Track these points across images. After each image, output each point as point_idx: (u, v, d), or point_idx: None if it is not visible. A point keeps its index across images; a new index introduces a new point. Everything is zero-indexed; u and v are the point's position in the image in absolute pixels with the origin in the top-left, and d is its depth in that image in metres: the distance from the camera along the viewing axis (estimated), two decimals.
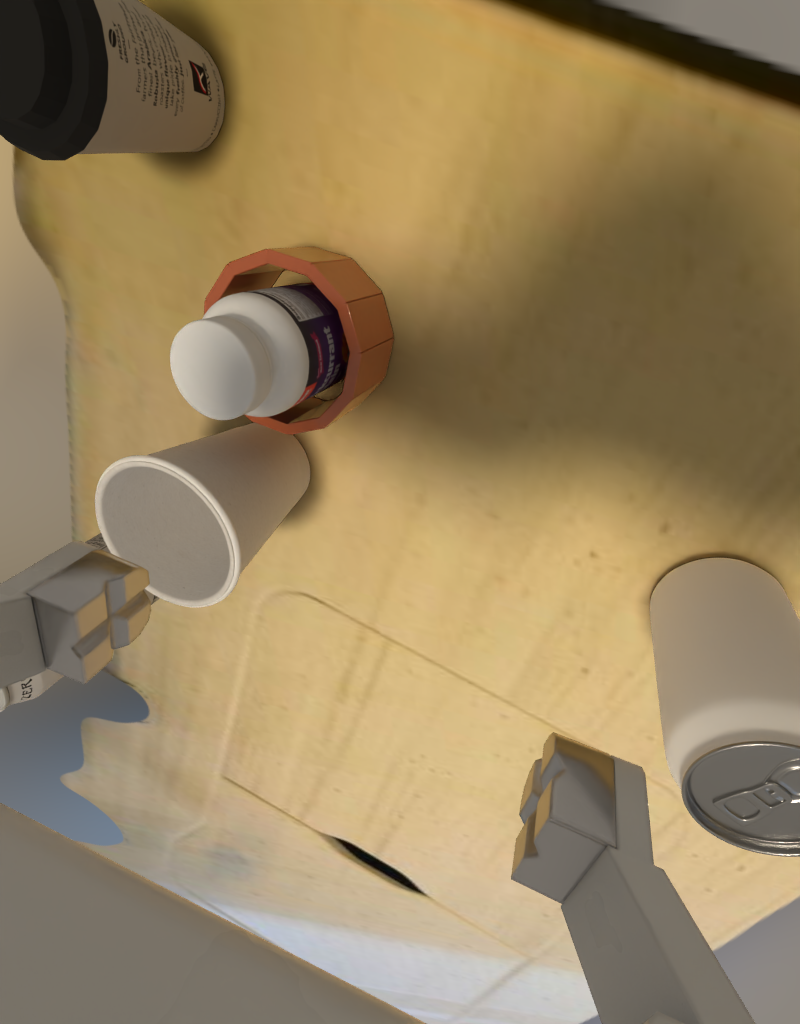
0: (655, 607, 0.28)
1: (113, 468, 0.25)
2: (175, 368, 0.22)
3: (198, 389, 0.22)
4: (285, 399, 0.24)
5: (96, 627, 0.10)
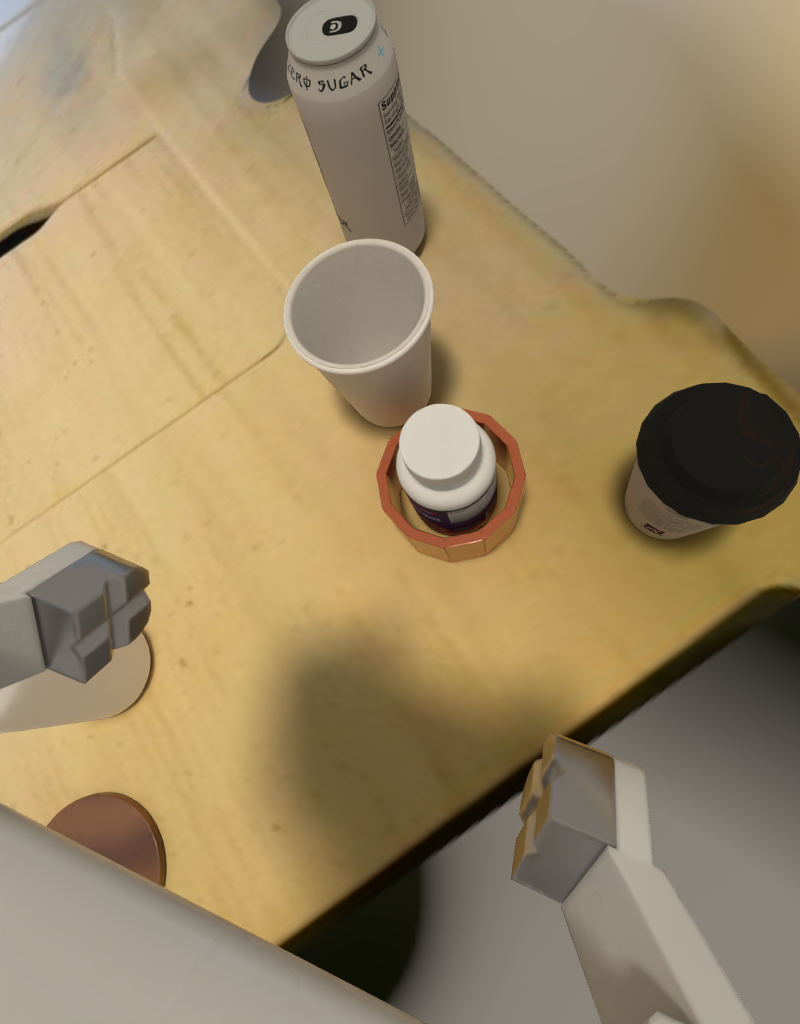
0: None
1: (428, 299, 0.28)
2: (459, 413, 0.26)
3: (434, 420, 0.26)
4: (400, 470, 0.29)
5: (96, 627, 0.10)
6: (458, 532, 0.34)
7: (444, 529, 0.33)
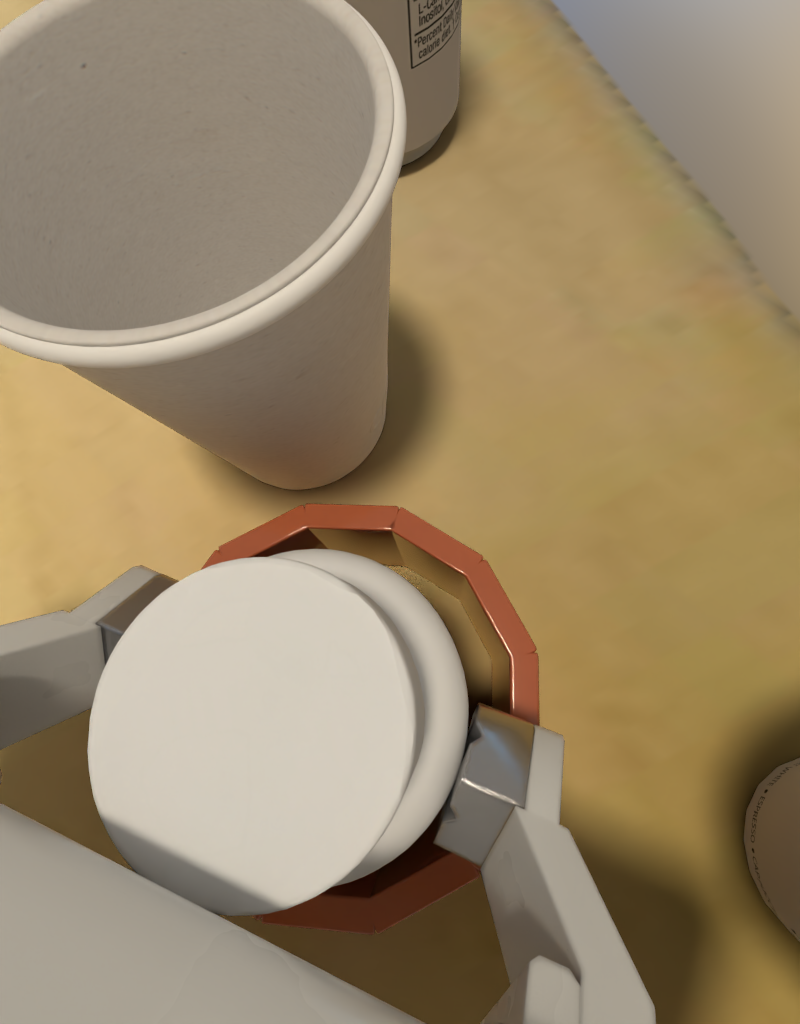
0: None
1: (375, 172, 0.08)
2: (359, 626, 0.06)
3: (258, 630, 0.07)
4: None
5: None
6: None
7: None
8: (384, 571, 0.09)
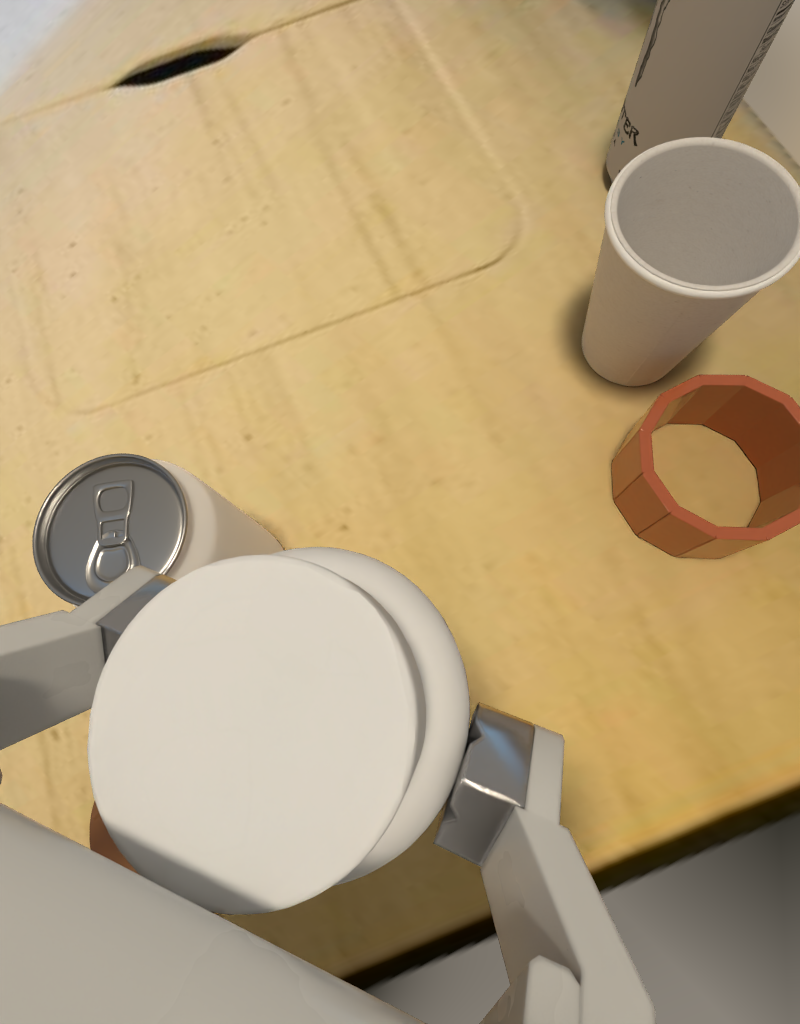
0: (274, 541, 0.29)
1: None
2: (360, 624, 0.06)
3: (259, 627, 0.07)
4: None
5: None
6: None
7: None
8: (385, 569, 0.09)
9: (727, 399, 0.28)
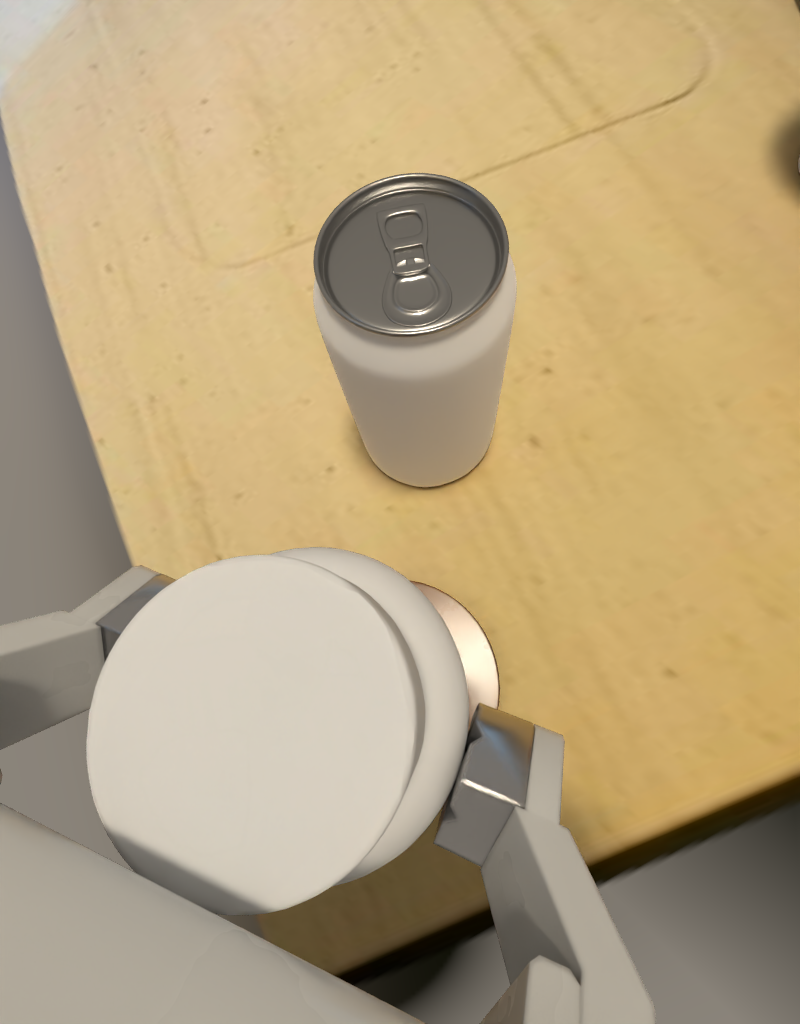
0: None
1: None
2: (358, 624, 0.06)
3: (258, 628, 0.07)
4: None
5: None
6: None
7: None
8: (384, 569, 0.09)
9: None
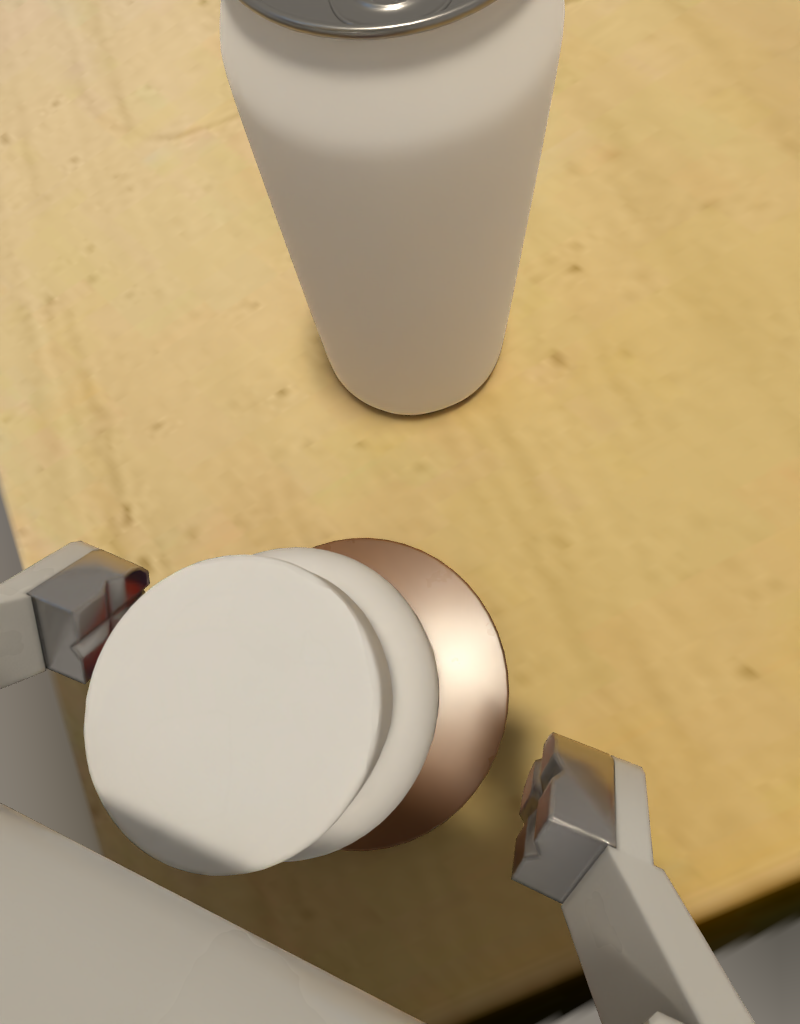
0: None
1: None
2: (331, 617, 0.07)
3: (239, 620, 0.07)
4: None
5: (96, 627, 0.10)
6: None
7: None
8: (361, 568, 0.10)
9: None
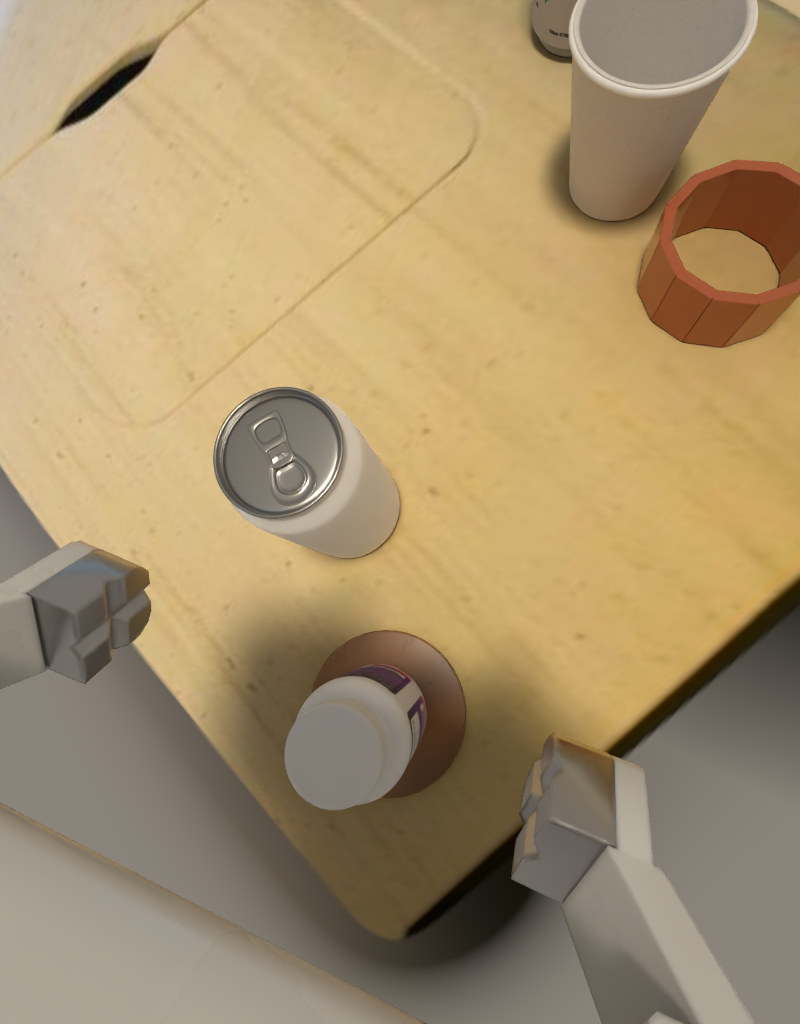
0: None
1: None
2: (354, 717, 0.21)
3: (325, 728, 0.21)
4: None
5: (96, 627, 0.10)
6: None
7: None
8: (360, 682, 0.24)
9: (723, 190, 0.30)
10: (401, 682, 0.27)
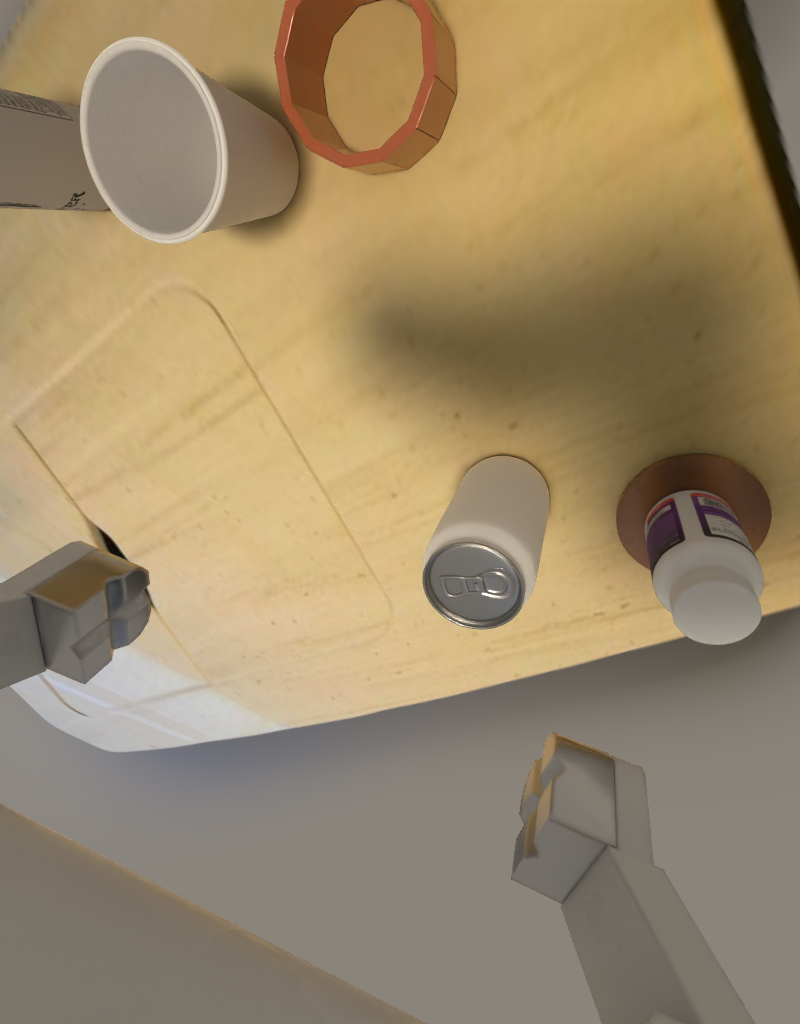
0: (472, 471, 0.37)
1: (142, 42, 0.24)
2: (694, 592, 0.27)
3: (692, 612, 0.28)
4: None
5: (96, 627, 0.10)
6: None
7: None
8: (665, 564, 0.30)
9: (298, 65, 0.29)
10: (674, 516, 0.32)
